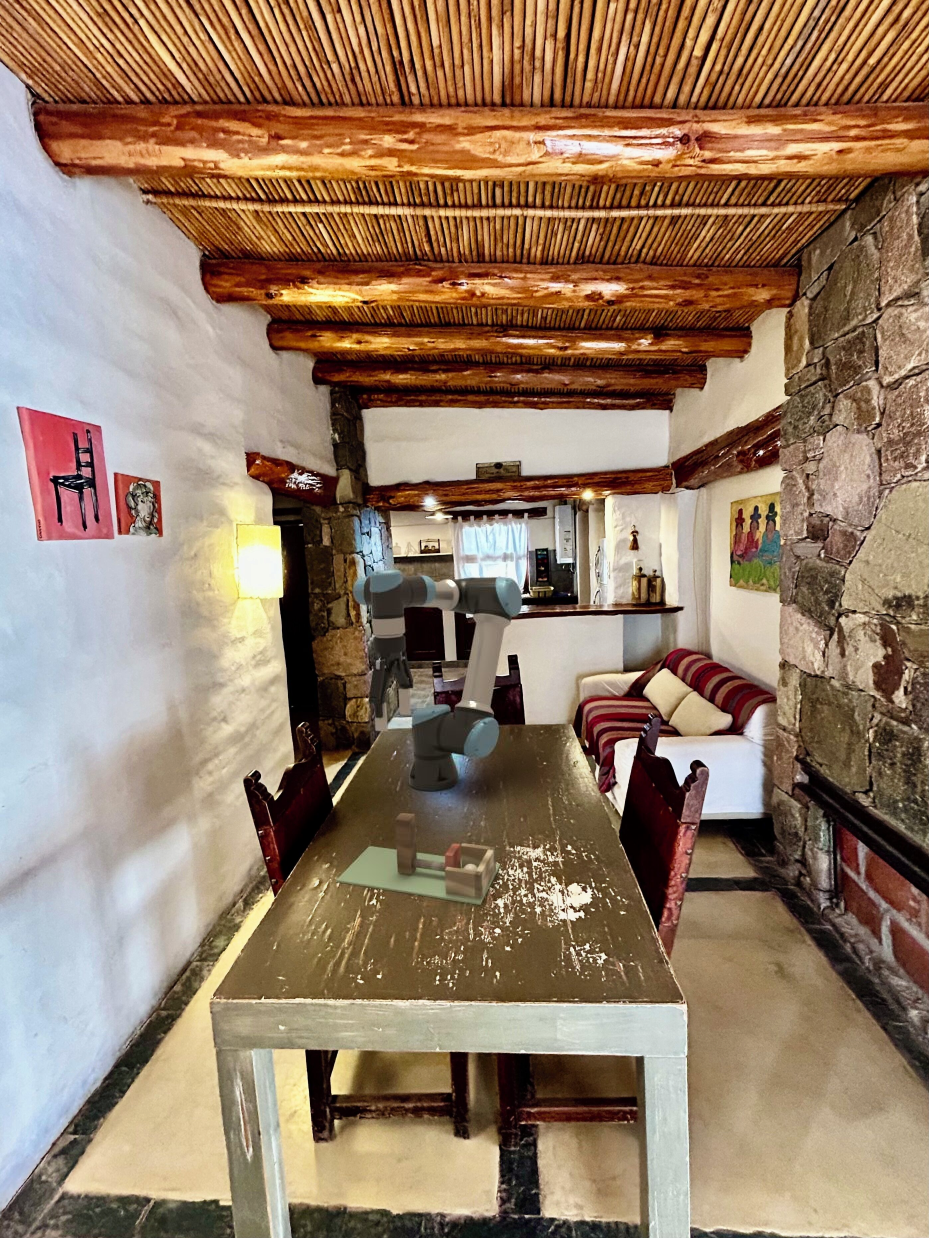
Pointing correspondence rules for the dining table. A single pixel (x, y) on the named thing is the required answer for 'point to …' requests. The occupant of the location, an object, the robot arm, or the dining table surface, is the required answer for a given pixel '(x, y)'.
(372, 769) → the dining table surface
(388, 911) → the dining table surface
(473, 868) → the ball
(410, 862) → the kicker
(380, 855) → the mat
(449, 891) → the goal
